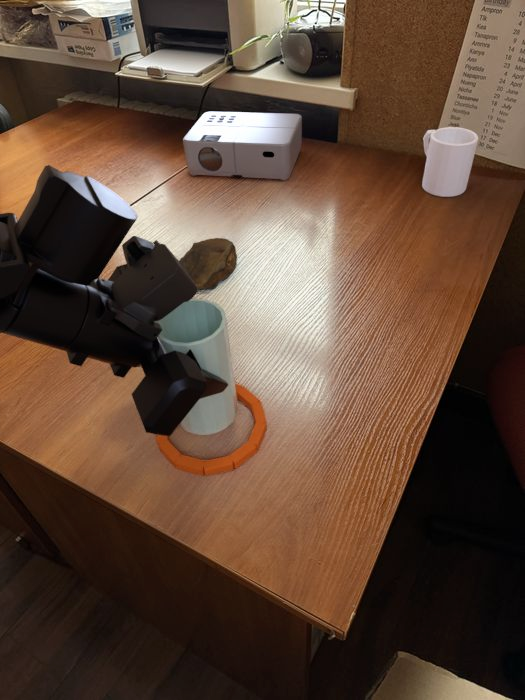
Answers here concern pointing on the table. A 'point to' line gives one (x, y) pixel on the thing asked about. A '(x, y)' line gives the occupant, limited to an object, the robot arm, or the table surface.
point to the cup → (204, 360)
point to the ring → (228, 461)
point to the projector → (244, 144)
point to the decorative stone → (210, 262)
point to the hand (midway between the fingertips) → (211, 364)
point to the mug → (448, 160)
